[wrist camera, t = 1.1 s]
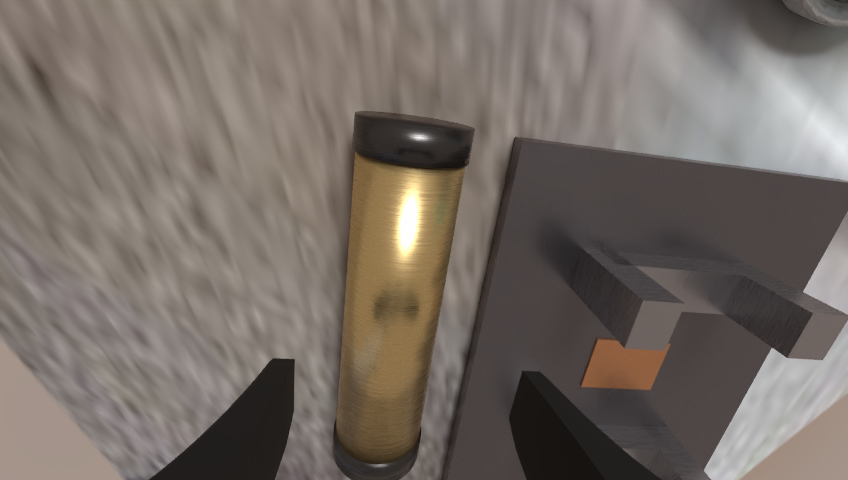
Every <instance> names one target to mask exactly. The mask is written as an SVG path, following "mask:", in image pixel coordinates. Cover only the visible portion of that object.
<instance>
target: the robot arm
mask: <svg viewBox="0 0 848 480" xmlns="http://www.w3.org/2000/svg"><path fill="white" fill-rule="evenodd" d="M294 362H295V359H277V358H274V359H272V360H271V361H270V362H269V363H268V364H267V365H266V367H265V368H264V369H263V370H262V372H261V373H260V374H259V375H258V376H257V378H256V379H255V380H254V381H253V382H252V383H251V385H250V386H249V387H248V388H247V389H246V390H245V391H244V393H243V394H242V395H241V396H240V397H239V398H238V399H237V400H236V401H235V402H234V403H233V404H232V405H231V407H230V408H229V409H228V410H227V411H226V412H225V413H224V414H223V415H222V416H221V417H220V418H219V419H218V420H217V421H216V422H215V423H214V424H213V425H212V426H211V427H210V428H209V429H207V430H206V431H205V432H204V433H203V434H202V435H201V436H200V437H199V438H198V439H197V440H196V441H195V442H194V443H193V444H191V445H190V446H189V447H188V448H187V449H186V450H185V451H184V452H182V453H181V454H180V455H179V456H178V457H176V458H175V459H174V460H173V461H172V462H171V463H169V464H168V465H167V466H166V467H165V468H163V469H162V470H161V471H159V472H158V473H157V474H156V475H154V476H153V477H152V478H151V479H149V480H275V477H276V474H277V471H278V468H279V465H280V462H281V459H282V456H283V453H284V450H285V447H286V444H287V439H288V435H289V431H290V426H291V421H292V417H293V412H294ZM509 421H510V426H511V431H512V435H513V440H514V444H515V448H516V451H517V454H518V457H519V460H520V463H521V466H522V469H523V471H524V474H525V477H526V480H661V479H660V478H659V477H657V476H656V475H655V474H653V473H652V472H651V471H649V470H648V469H647V468H646V467H644V466H643V465H642V464H640V463H639V462H638V461H637V460H635V459H634V458H633V457H631V456H630V455H629V454H628V453H627V452H625V451H624V450H623V449H622V448H621V447H619V446H618V445H617V444H616V443H615V442H614V441H613V440H611V439H610V438H609V437H608V436H607V435H606V434H605V433H603V432H602V431H601V430H600V429H599V428H598V427H597V426H596V425H595V424H594V423H593V422H592V421H590V420H589V419H588V418H587V417H586V416H585V415H584V414H583V413H582V412H581V411H580V410H579V409H578V408H577V407H576V406H575V405H574V404H573V403H572V402H571V401H570V400H569V399H568V398H567V397H566V396H565V395H564V394H563V393H562V392H561V391H560V390H559V389H558V388H557V387H556V386H555V385H554V384H553V383H552V382H551V381H550V380H549V379H548V378H546V377H545V376H544V375H543V374H542V373H541V372H539V371H522V373H521V377H520V380H519V384H518V388H517V391H516V395H515V398H514V402H513V405H512V409H511V412H510V416H509Z"/></svg>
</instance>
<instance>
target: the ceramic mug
mask: <svg viewBox="0 0 848 480" xmlns="http://www.w3.org/2000/svg"><path fill="white" fill-rule="evenodd" d="M782 1H783V3H784V4H785V6H786V7H787V8H788V9H789V10H791V11H792V12H794V13H796V14H798V15H801V16H803V17H805V18H807V19H809V20H812V21H814V22H816V23H820V24H823V25H826V26H830V27H848V2H843V3H842V2H839V1H835V0H782Z"/></svg>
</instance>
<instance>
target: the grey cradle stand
mask: <svg viewBox="0 0 848 480" xmlns="http://www.w3.org/2000/svg"><path fill="white" fill-rule="evenodd" d="M847 211H848V181H844V180H840V179H833V178H825V177H817V176H810V175H802V174H795V173H787V172H779V171H772V170H764V169H756V168H749V167H741V166H734V165H726V164H718V163H711V162H703V161H696V160H688V159H680V158H673V157H665V156H657V155H650V154H642V153H635V152H627V151H619V150H612V149H604V148H597V147H589V146H581V145H574V144H566V143H558V142H551V141H543V140H536V139H528V138H520V137H515V140H514V145H513V150H512V154H511V159H510V164H509V168H508V173H507V178H506V182H505V187H504V192H503V196H502V201H501V206H500V210H499V215H498V220H497V224H496V229H495V234H494V238H493V243H492V248H491V252H490V257H489V261H488V266H487V271H486V275H485V280H484V285H483V289H482V294H481V299H480V303H479V308H478V313H477V317H476V322H475V327H474V331H473V336H472V341H471V345H470V350H469V355H468V359H467V364H466V369H465V373H464V378H463V383H462V387H461V392H460V397H459V401H458V406H457V411H456V415H455V420H454V425H453V429H452V434H451V439H450V443H449V448H448V453H447V457H446V462H445V467H444V471H443V476H442V480H526V477H525V474H524V471H523V469H522V466H521V463H520V460H519V457H518V454H517V451H516V448H515V444H514V440H513V435H512V431H511V426H510V421H509V416H510V412H511V409H512V405H513V402H514V398H515V395H516V391H517V388H518V384H519V380H520V377H521V373H522V371H539V372H541V373H542V374H543V375H544V376H545V377H546V378H548V379H549V380H550V381H551V382H552V383H553V384H554V385H555V386H556V387H557V388H558V389H559V390H560V391H561V392H562V393H563V394H564V395H565V396H566V397H567V398H568V399H569V400H570V401H571V402H572V403H573V404H574V405H575V406H576V407H577V408H578V409H579V410H580V411H581V412H582V413H583V414H584V415H585V416H586V417H587V418H588V419H589V420H590V421H592V422H593V423H594V424H595V425H596V426H597V427H598V428H599V429H600V430H601V431H602V432H603V433H605V434H606V435H607V436H608V437H609V438H610V439H611V440H613V441H614V442H615V443H616V444H617V445H618V446H619V447H621V448H622V449H623V450H624V451H625V452H627V453H628V454H629V455H630V456H631V457H633V458H634V459H635V460H637V461H638V462H639V463H640V464H642V465H643V466H644V467H646V468H647V469H648V470H649V471H651V472H652V473H653V474H655V475H656V476H657V477H659V478H660V479H661V480H711V479H710V478H709V477H708V475H707V474H706V473H705V472H704V471H703V470H704V469H705V467H706V465H707V463H708V461H709V460H710V458H711V456H712V454H713V452H714V451H715V449H716V447H717V445H718V443H719V442H720V440H721V438H722V436H723V434H724V433H725V431H726V429H727V427H728V425H729V424H730V422H731V420H732V418H733V416H734V415H735V413H736V411H737V409H738V407H739V406H740V404H741V402H742V400H743V398H744V397H745V395H746V393H747V391H748V389H749V388H750V386H751V384H752V382H753V380H754V379H755V377H756V375H757V373H758V371H759V370H760V368H761V366H762V364H763V362H764V361H765V359H766V357H767V355H768V353H769V352H770V350H771V348H774V349H775V350H777V351H778V352H779V353H781V354H782V355H784V356H785V357H787V358H797V359H814V360H823V359H824V357H825V356H826V354H827V353H828V351H829V349H830V348H831V346H832V344H833V343H834V341H835V340H836V338H837V336H838V335H839V333H840V332H841V330H842V328H843V327H844V325H845V324H846V322H847V320H848V315H847V314H845V313H843V312H841V311H839V310H837V309H835V308H833V307H831V306H829V305H827V304H825V303H823V302H821V301H819V300H817V299H815V298H813V297H811V296H809V295H807V294H805V293H803V290H804V289H805V287H806V285H807V283H808V281H809V280H810V278H811V276H812V274H813V272H814V271H815V269H816V267H817V265H818V263H819V262H820V260H821V258H822V256H823V254H824V253H825V251H826V249H827V247H828V245H829V244H830V242H831V240H832V238H833V236H834V235H835V233H836V231H837V229H838V227H839V226H840V224H841V222H842V220H843V218H844V217H845V215H846V213H847Z"/></svg>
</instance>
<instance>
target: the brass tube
mask: <svg viewBox="0 0 848 480" xmlns="http://www.w3.org/2000/svg"><path fill="white" fill-rule="evenodd" d="M474 131H475V129H474V128H472V127H470V126H466V125H463V124H458V123H454V122H449V121H444V120H438V119H432V118H426V117H420V116H412V115H405V114H396V113H386V112H373V111H359V112H355V119H354V134H353V150H354V151H355V162H354V176H353V191H352V205H351V220H350V234H349V249H348V263H347V277H346V292H345V306H344V321H343V335H342V349H341V364H340V378H339V393H338V407H337V418H336V421H335V424H334V434H333V456H334V460H335V462H336V464H337V466H338V468H339V469H340V470H341V471H342V472H343V473H344V474H345V475H346V476H347V477H348V478H350V479H352V480H399V479H401V478H402V477H403V476H405V475H406V474H407V473H408V472H409V471H410V470H411V468H412V467H413V465H414V463H415V461H416V458H417V454H418V449H419V443H420V437H421V419H422V414H423V408H424V402H425V396H426V391H427V385H428V379H429V373H430V368H431V362H432V356H433V350H434V345H435V339H436V333H437V327H438V322H439V316H440V310H441V304H442V299H443V293H444V287H445V281H446V276H447V270H448V264H449V258H450V253H451V247H452V241H453V235H454V230H455V224H456V218H457V212H458V207H459V201H460V195H461V189H462V184H463V178H464V172H465V166H467V165H468V164H469V160H470V154H471V148H472V143H473V137H474Z"/></svg>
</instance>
